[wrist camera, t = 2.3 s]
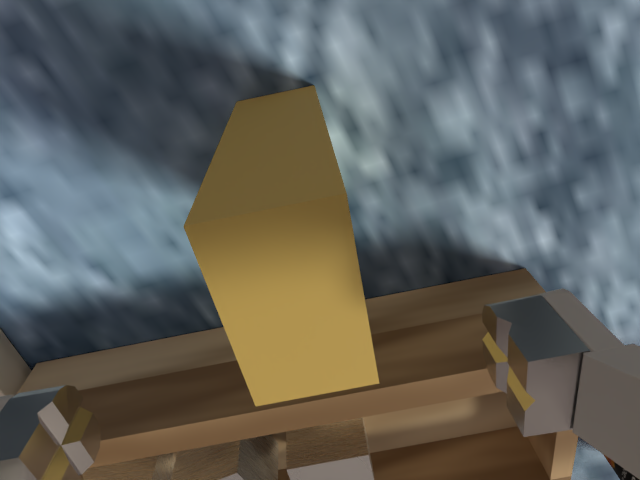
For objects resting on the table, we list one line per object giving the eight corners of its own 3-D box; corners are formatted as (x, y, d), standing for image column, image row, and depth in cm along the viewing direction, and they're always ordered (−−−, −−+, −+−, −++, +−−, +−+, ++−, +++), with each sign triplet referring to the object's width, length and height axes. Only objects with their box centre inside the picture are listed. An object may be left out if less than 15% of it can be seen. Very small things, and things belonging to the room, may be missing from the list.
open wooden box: (36, 363, 22) (-31, 465, 17) (525, 268, 21) (594, 348, 17) (118, 475, 27) (83, 578, 23) (517, 402, 26) (568, 493, 22)
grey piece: (182, 427, 22) (166, 499, 19) (243, 403, 21) (236, 473, 18) (220, 464, 23) (211, 535, 20) (278, 442, 23) (277, 512, 20)
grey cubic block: (286, 401, 21) (286, 469, 18) (356, 388, 21) (368, 454, 18) (301, 444, 23) (303, 513, 20) (366, 433, 23) (378, 500, 20)
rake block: (236, 101, 17) (183, 226, 8) (314, 85, 16) (346, 193, 8) (268, 216, 19) (255, 406, 10) (336, 202, 19) (379, 383, 10)
